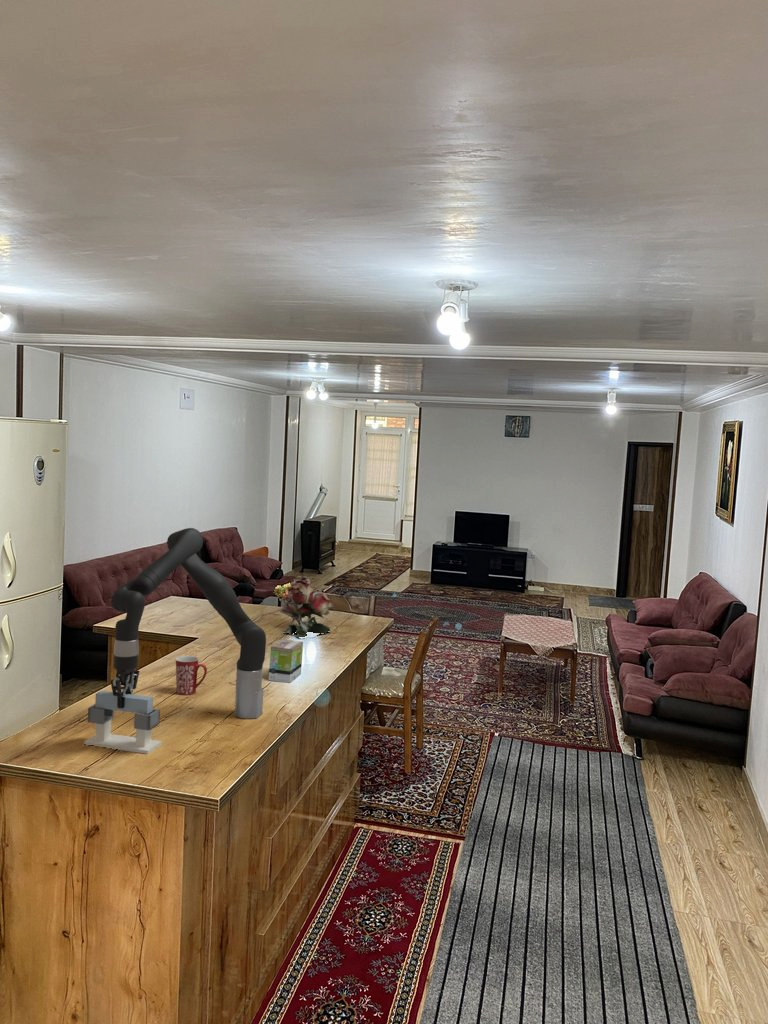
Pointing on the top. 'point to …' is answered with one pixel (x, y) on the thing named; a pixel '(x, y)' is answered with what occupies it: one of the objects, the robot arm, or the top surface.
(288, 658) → the tea box
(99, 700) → the rail
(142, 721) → the stand
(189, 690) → the mug
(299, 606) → the rose bouquet
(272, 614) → the top surface
